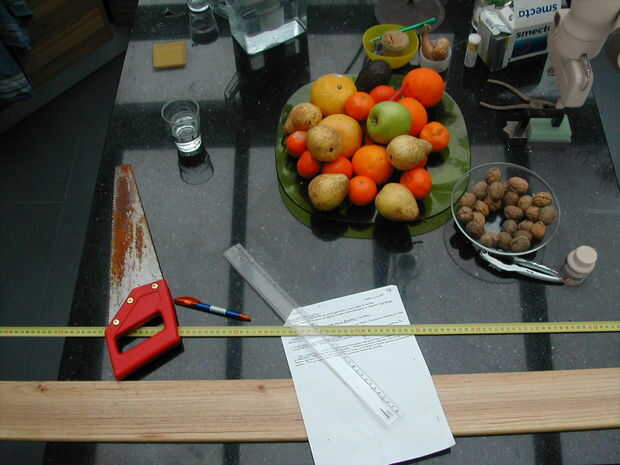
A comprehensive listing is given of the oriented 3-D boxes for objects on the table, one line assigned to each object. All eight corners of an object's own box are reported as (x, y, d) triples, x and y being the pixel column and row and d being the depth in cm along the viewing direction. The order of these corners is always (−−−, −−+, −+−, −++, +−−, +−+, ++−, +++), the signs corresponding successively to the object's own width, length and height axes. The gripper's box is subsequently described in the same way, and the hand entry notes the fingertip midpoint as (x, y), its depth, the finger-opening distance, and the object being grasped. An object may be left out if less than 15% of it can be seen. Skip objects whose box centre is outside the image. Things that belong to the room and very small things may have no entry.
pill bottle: (570, 258, 119) (586, 237, 111) (588, 277, 117) (607, 257, 109) (551, 271, 118) (567, 250, 110) (570, 290, 115) (587, 270, 108)
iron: (561, 127, 137) (576, 99, 129) (566, 149, 134) (582, 122, 125) (497, 126, 138) (508, 98, 130) (501, 148, 134) (513, 121, 126)
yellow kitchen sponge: (186, 46, 155) (185, 40, 153) (187, 68, 150) (186, 62, 149) (155, 50, 154) (153, 44, 152) (155, 72, 150) (153, 66, 148)
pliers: (481, 77, 145) (562, 87, 142) (480, 80, 146) (560, 89, 143) (479, 105, 140) (563, 115, 138) (479, 108, 141) (561, 118, 138)
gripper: (608, 77, 105) (579, 126, 117) (585, 4, 115) (560, 57, 127) (574, 76, 105) (548, 126, 117) (554, 4, 115) (532, 56, 127)
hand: (554, 89), depth 122 cm, fingers open, 8 cm apart
